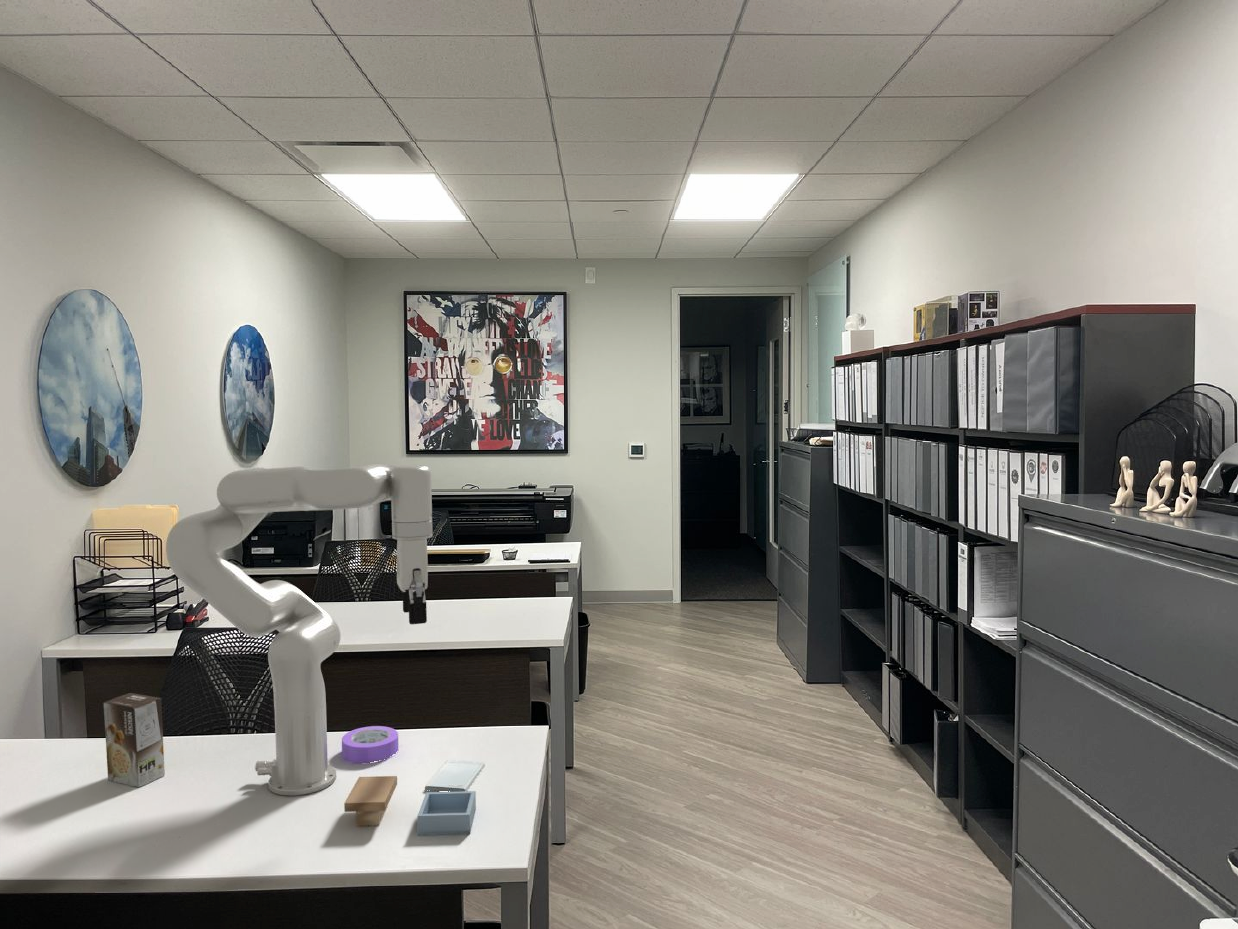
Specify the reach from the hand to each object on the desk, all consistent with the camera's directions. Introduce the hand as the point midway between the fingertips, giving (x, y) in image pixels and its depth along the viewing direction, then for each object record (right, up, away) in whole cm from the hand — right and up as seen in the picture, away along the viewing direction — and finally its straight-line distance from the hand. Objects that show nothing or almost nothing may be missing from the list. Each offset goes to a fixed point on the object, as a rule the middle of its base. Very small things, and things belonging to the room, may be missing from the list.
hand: (414, 617), depth 166 cm
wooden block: (-5, -34, -10) cm, 36 cm away
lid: (-5, -31, -10) cm, 33 cm away
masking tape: (-14, -33, +18) cm, 40 cm away
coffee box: (-57, -34, +6) cm, 67 cm away
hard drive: (+7, -34, +5) cm, 35 cm away
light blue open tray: (+9, -34, -12) cm, 38 cm away
